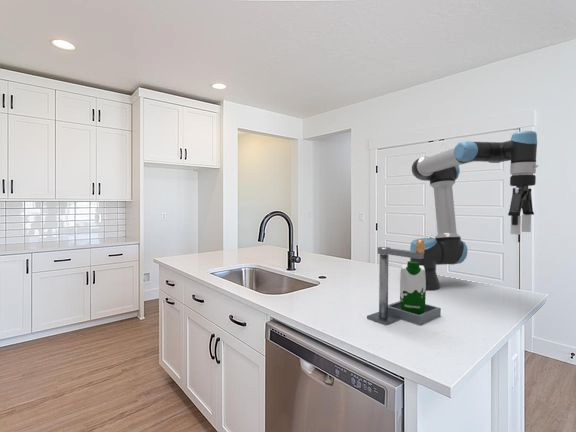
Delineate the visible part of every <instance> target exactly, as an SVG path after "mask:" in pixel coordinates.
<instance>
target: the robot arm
mask: <svg viewBox="0 0 576 432" xmlns="http://www.w3.org/2000/svg"><path fill="white" fill-rule="evenodd" d="M537 135H538V133H537V132H536V131H534V130H523V131H517V132H514V133H513V134H511V137H510V140H506V141H499V142H498V141H497V142H496V141H494V142H493V141H471V140H467V141H460V142H458V143H457V145H455V146H454V147H453V148H450V149H447V150H445V151H443V152H440V153H436V154H433V155H431V156H427V155H426V156H422V157H419V158H417V159H415V161H413V163H412V165H411V172H412V175H413V177H415V178H416V179H417V180H420V181H429V186H430V187H431V188H433V195H434V207H435V218H436V230H437V234H436V236H435V237H434V238H432V237H428V238H427V237H425V238H424V237H423V238H415V239H414V240H412V241H411V242H410V248H409V251H415V252H416V240H425V243H424V258H423V259H415V258H409V260H410V261H416V262H419V265H420V266H424V268H425V273H426V277H425V278H426V291H435V290H439V289H440V280H439V278H438V275H437V266H439V265H453V266H454V265H457V264H459V265H460V264H462V263H463V262H464V261H465V260H466V259H467V256H468V246H467V244H466V242H465V241H463V240H462V238H461V236H460V235H459V234H458V232H457V224H456V222H457V221H456V211H455V203H454V193H453V186H454V185H455V184H456V180H457V179H458V178H459V176H460V174H461V173H460V172H461V171H460V165H465V164H469V163H473V162H485V163H486V162H487V163H490V164H495V163H496V164H500V163H503V162H509V161H510V170H509V174H510V175H511V176H510V177H509V186H510V187H513V188H512V194H511V195H512V196H511V201H510V205H509V210H508V213H507V216H510V235H516V236H517V235H521V233H523V232H524V233H531V231H532V229H531V228H532V215H533V216H534V214H535V212H534V210H533V209H534V208H533V200H532V199H533V198H532V188H529V187H531V186H535V185H536V181H537V179H536V177H537V176H536V175H535V174H536V171H537V168H538V167H539V165H538V164H537V151H538V150H537V148H538V136H537ZM521 212H522V214H521Z"/></svg>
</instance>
